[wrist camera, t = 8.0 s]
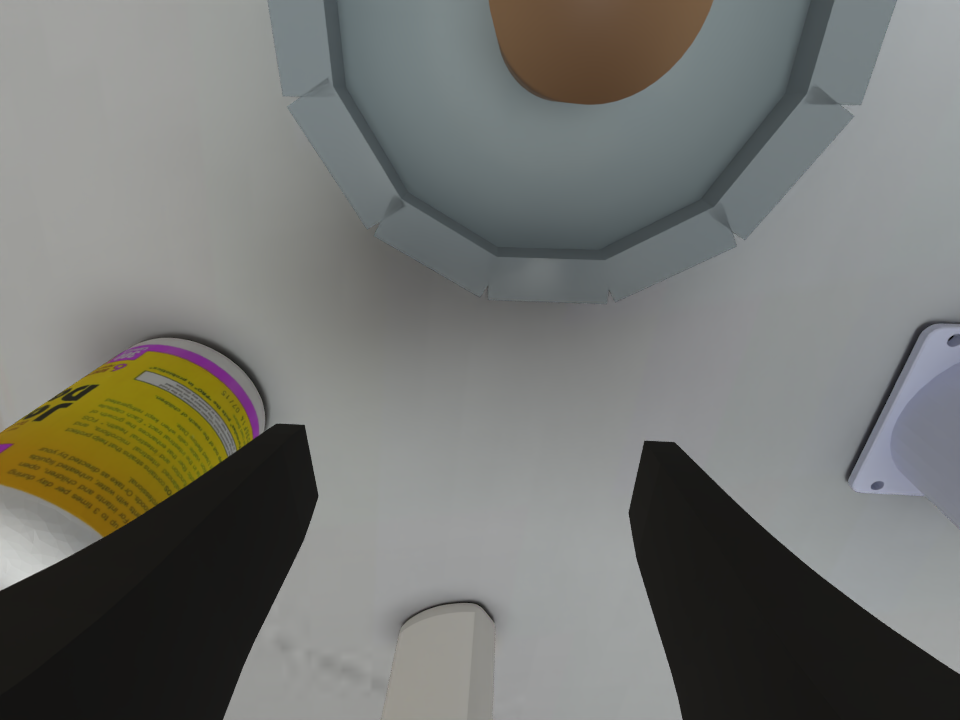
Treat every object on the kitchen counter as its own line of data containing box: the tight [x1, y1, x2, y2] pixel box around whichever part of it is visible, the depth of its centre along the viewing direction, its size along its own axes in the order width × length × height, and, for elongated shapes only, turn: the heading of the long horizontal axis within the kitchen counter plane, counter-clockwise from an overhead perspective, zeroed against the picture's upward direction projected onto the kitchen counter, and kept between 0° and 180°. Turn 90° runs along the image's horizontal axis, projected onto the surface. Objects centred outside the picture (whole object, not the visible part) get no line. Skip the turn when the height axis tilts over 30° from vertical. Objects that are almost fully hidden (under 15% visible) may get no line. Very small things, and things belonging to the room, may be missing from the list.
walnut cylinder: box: [489, 0, 713, 105], centre depth 11 cm, size 4×4×6 cm
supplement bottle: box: [0, 338, 265, 591], centre depth 16 cm, size 7×7×13 cm
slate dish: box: [268, 0, 897, 304], centre depth 13 cm, size 16×16×2 cm
